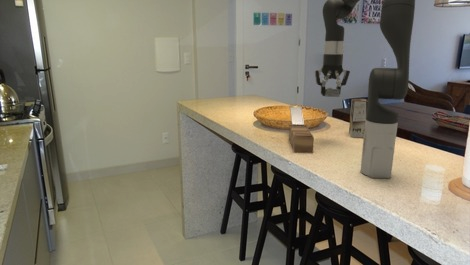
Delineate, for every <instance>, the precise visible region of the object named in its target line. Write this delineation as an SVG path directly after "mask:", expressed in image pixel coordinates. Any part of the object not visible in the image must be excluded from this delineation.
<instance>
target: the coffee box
mask: <svg viewBox="0 0 470 265" xmlns="http://www.w3.org/2000/svg"><path fill="white" fill-rule="evenodd" d="M350 104H351V106H350V115H349V128H348V129H349V130H348V133H349V135H350V137H351V138H361V139H364V131H365V122H366V113H367V105H368V98H351V102H350Z"/></svg>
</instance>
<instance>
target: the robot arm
mask: <svg viewBox="0 0 470 265" xmlns="http://www.w3.org/2000/svg"><path fill="white" fill-rule="evenodd" d="M359 1H360V0H325V3H324V4H323V6H322V17H323V21H324V22H323V23H324V28H325V36H324V37H325V38H324V45H323V46H324V47H323V56H322V57H323V58H322V67H321V68H320V69H315V70H314V76H315V82H316V85H318V86H320V94H321V97H325V89H326V84H327V83H328V81H329V80H332V79H334V81H335V83H336V87H335V89H340V93H341V91H342V87H344V86H346V85H347V82H348V79H349V76H350V73H351V72H350V70H348V69H343V64H344V63H343V61H344V53H345V51H344V49H345V47H344V42H345V41H344V40H345V27H344V25H340V24H338V20H344V19H346V18H347V17H349V16H350V15H351V14H352V12H353V10H354V9H355V6H357V3H359ZM415 6H416V0H383V1H382V4H381V10H380V17H379V18H380V19H379V27H380V31H381V33H382V35H383V37H384V38H385V40H386V42H387V43H388V45H389V46H390V48H391V49H392V50H391V51H392V53H393V54H394V57H395V60H396V65H397V67H395V68H394V67H393V68H392V67H374V68H372V69H371V71H370V73H369V77H368V86H367V88H368V90H367V92H368V93H367V100H368V105H367V113H366V122H365V131H364V138H363V143H362V151H361V161H360V170H359V171H360V173H361V174H363V175H364V176H367V177H369V178H370V179H371V178H372V179H374V178H375V179H378V178H379V179H391V177H392V170H393V165H394V164H393V163H394V154H395V148H396V147H395V146H396V139H397V132H398V125H399V113H398V111H396V110H393V109H391V108H389V107H386V106H385V105H383V104H382V103H381V102H380V101H379V100H393V101H394V100H395V101H397V100H399V101H400V100H403V99H405V98H406V96H407V94H408V90H409V80H410V56H411V55H410V54H411V52H410V51H411V42H412V41H411V40H412V36H413V35H412V34H413V27H414V26H413V25H414V19H415V9H416V7H415ZM322 74H323V78H322V81H321V78H320V75H322ZM341 74H342V75H343V77H342V81H341V77H340V75H341Z"/></svg>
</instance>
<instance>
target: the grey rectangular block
mask: <svg viewBox="0 0 470 265" xmlns="http://www.w3.org/2000/svg"><path fill="white" fill-rule="evenodd" d="M340 95H341V92H340V89H336V88H333V87H326V88H325V96H324V97H327V98H329V97H331V98H334V97H335V98H338V97H340Z"/></svg>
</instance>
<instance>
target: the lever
mask: <svg viewBox="0 0 470 265" xmlns="http://www.w3.org/2000/svg"><path fill="white" fill-rule="evenodd" d="M288 107H289V110H290V118H291V125H305V122H304V115H303V106H302V105H289V106H288Z"/></svg>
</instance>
